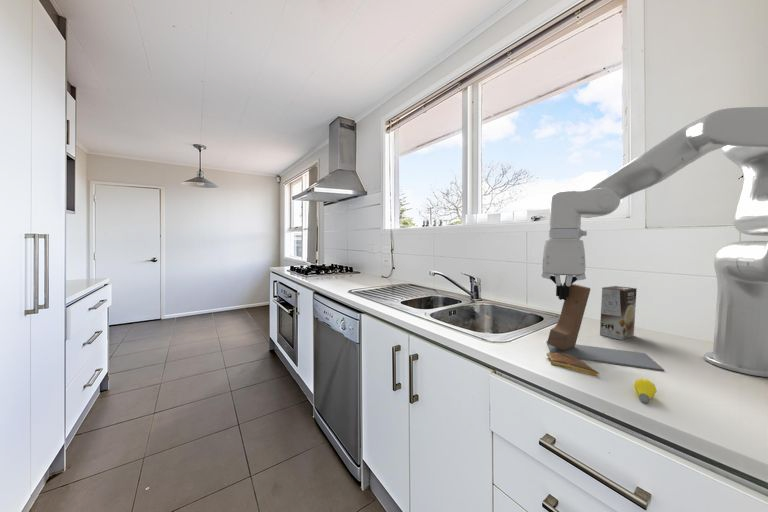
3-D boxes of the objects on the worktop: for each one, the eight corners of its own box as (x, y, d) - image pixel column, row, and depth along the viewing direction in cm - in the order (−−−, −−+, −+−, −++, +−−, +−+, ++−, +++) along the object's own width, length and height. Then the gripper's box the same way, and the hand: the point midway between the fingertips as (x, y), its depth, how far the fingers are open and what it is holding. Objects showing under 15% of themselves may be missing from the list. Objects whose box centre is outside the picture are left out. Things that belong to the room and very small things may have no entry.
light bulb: (651, 393, 60) (659, 381, 58) (650, 412, 56) (659, 401, 54) (631, 383, 62) (638, 372, 60) (629, 402, 58) (637, 390, 56)
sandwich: (599, 378, 67) (599, 371, 67) (565, 378, 67) (566, 370, 67) (570, 359, 78) (571, 353, 78) (542, 359, 78) (542, 352, 78)
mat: (645, 354, 80) (645, 353, 80) (664, 371, 70) (664, 369, 70) (546, 341, 89) (546, 340, 89) (550, 354, 79) (550, 353, 79)
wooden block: (563, 350, 79) (580, 287, 77) (546, 343, 82) (562, 283, 80) (575, 347, 84) (591, 288, 82) (558, 340, 88) (573, 283, 86)
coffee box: (622, 340, 90) (624, 290, 89) (599, 334, 96) (601, 287, 95) (634, 335, 95) (637, 288, 94) (611, 330, 100) (613, 285, 100)
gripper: (592, 235, 82) (590, 298, 83) (533, 235, 88) (532, 294, 89) (600, 234, 75) (597, 304, 76) (535, 235, 81) (533, 299, 82)
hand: (562, 298), depth 82 cm, fingers closed
